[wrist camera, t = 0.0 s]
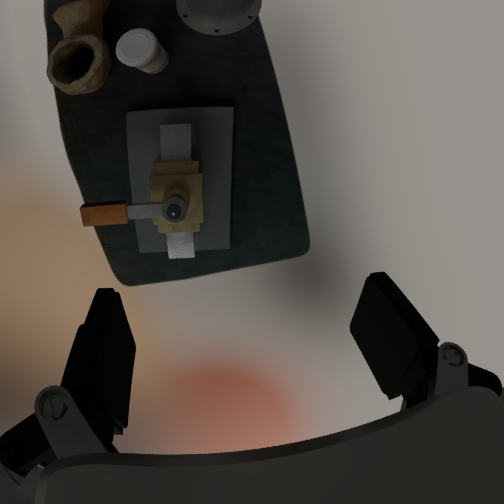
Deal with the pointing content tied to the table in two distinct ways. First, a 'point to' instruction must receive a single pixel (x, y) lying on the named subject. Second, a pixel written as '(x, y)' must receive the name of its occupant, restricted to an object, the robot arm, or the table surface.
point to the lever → (133, 211)
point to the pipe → (80, 48)
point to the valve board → (210, 154)
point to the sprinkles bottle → (142, 51)
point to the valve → (178, 186)
